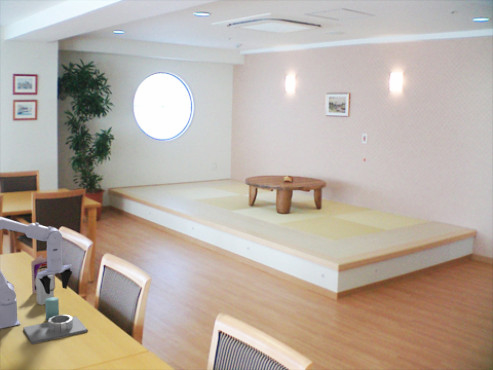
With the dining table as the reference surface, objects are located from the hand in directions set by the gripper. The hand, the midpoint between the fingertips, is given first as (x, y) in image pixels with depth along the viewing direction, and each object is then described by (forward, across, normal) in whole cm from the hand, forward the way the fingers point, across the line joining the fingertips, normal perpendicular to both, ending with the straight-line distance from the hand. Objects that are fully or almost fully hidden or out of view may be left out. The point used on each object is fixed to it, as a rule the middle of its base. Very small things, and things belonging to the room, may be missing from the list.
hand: (56, 290), depth 212 cm
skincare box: (+11, +5, +16) cm, 20 cm away
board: (+10, -8, -12) cm, 18 cm away
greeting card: (+11, +12, +32) cm, 36 cm away
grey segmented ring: (+10, -7, -13) cm, 17 cm away
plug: (+11, -3, -1) cm, 11 cm away
